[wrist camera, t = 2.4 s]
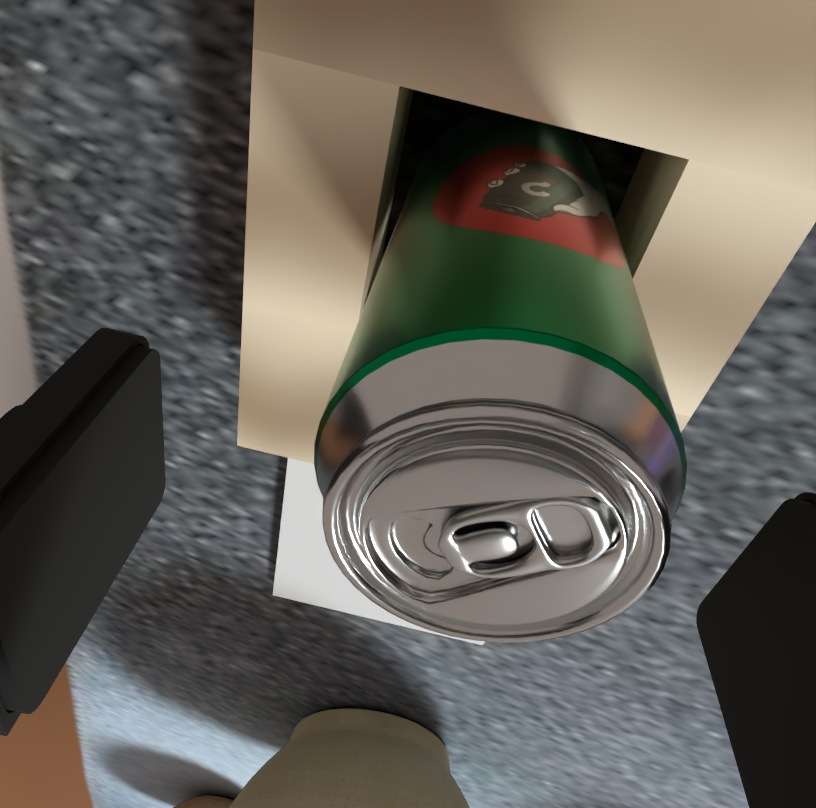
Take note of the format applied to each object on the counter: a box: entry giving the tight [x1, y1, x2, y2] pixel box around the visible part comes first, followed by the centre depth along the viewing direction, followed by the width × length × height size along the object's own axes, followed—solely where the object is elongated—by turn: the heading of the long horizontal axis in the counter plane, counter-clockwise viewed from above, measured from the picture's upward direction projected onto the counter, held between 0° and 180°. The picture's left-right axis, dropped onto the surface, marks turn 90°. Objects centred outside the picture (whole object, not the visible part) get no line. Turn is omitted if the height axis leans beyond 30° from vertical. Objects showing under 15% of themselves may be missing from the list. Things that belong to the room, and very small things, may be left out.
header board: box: [237, 0, 816, 464], centre depth 16 cm, size 16×12×4 cm
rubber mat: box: [273, 458, 485, 645], centre depth 26 cm, size 10×10×1 cm
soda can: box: [314, 110, 687, 643], centre depth 13 cm, size 5×5×12 cm
